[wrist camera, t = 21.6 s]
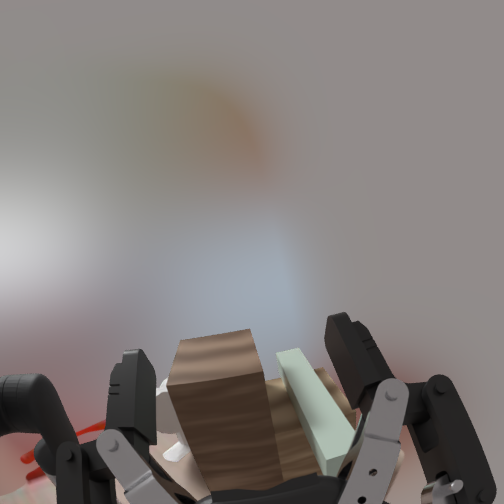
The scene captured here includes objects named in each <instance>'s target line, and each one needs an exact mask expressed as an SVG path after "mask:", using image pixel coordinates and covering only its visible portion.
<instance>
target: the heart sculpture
mask: <svg viewBox="0 0 504 504" xmlns="http://www.w3.org/2000/svg"><path fill="white" fill-rule="evenodd" d="M167 380H168V378H167V379H165V380H164V381H163V382H162V384H161V386H160V387H159V388H156V430H157V431H159V432H161V433H168V434H173V433H176V435H177V438H178V440H179V441H178V442H177V443H176V444H175V445H173V446H172V447H171V448H170V449H168V450H167V451H166V452H165V453H163V456H164V458H165V459H166V460H168V461H173V462H178V461H179V460H180V459H182V458H183V457H184V456H185V455H186V454H187V453H188V452H190V451H191V450H190V447H189V445H188V442H187V440H186V438H185V435H184V433H183V430H182V428H181V425H180V423H179V420H178V418H177V415H176V412H175V410H174V407H173V404H172V402H171V399H170V396H169V393H168V390H167V388H166V384H167Z"/></svg>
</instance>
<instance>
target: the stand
mask: <svg viewBox="0 0 504 504" xmlns="http://www.w3.org/2000/svg"><path fill="white" fill-rule="evenodd" d="M314 371H315V373H316V374H317V376H318V377H319V379H320V380H321V382H322V383H323V385H324V386H325V388H326V389H327V391H328V392H329V394H330V395H331V397H332V398H333V400H334V401H335V403H336V404H337V406H338V407H339V408H340V410H341V411H342V413H343V414H344V416H345V417H346V419H347V420H348V422H349V423H350V425H351V426H352V428H353V429H354V430H355V428H356V411H355V409H354V410H352V409H351V406H350V404H349V401H348V400H347V399H346V397H345V396H344V395H343V393H342V392H341V391H340V389H339V388H338V387H337V386H336V384H335V383H334V381H333V380H332V379H331V378H330V376H329V375H328V373H327V372H326V371H325V369H324V368H323V367H322V368H318V369H314ZM166 388H167V390H168V393H169V396H170V399H171V402H172V404H173V407H174V410H175V412H176V415H177V418H178V420H179V423H180V425H181V428H182V430H183V433H184V435H185V438H186V440H187V442H188V445H189V447H190V450H191V452H192V454H193V456H194V459H195V461H196V463H197V465H198V467H199V469H200V472H201V474H202V476H203V478H204V480H205V482H206V484H207V486H208V488H209V490H210V492H211V491H221V490H230V489H246V490H268V489H270V488H272V487H274V486H277V485H279V484H281V483H283V482H285V481H287V480H289V479H292V478H296V477H300V476H304V475H308V474H312V473H315V472H317V475H323V473H322V471H321V469H320V466H319V464H318V462H317V460H316V457H315V455H314V453H313V451H312V448H311V446H310V444H309V442H308V439H307V437H306V435H305V432H304V430H303V428H302V426H301V423H300V421H299V419H298V416H297V414H296V412H295V409H294V407H293V405H292V402H291V400H290V398H289V395H288V393H287V391H286V388H285V386H284V384H283V381H282V379H281V378H278V379H273V380H268V381H265V379H264V373H263V369H262V366H261V363H260V359H259V356H258V353H257V350H256V347H255V343H254V340H253V337H252V334H251V331H250V329H245V330H240V331H235V332H229V333H223V334H217V335H211V336H205V337H199V338H192V339H185V340H180V343H179V346H178V349H177V352H176V355H175V358H174V361H173V365H172V368H171V371H170V374H169V377H168V380H167V384H166Z"/></svg>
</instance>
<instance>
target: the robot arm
mask: <svg viewBox="0 0 504 504" xmlns="http://www.w3.org/2000/svg"><path fill="white" fill-rule="evenodd" d="M324 339H325V346H326V349H327V352H328V354H329V356H330V359H331V361H332V363H333V366H334V368H335V370H336V373H337V375H338V377H339V380H340V382H341V384H342V387H343V389H344V391H345V394H346V397H347V399H348V401H349V404H350V406H351V409H352V410H354V409H356V408H360V410H361V413H362V414H361V417H360V420H359V423H358V426H357V429H356V431H355V434H354V437H353V440H352V442H351V445H350V448H349V450H348V452H347V454H346V456H345V458H344V460H343V462H342V464H341V467H340V469H339V471H338V474H337V476H336V477H334V476H328V475H317V472H315V473H312V474H308V475H304V476H300V477H296V478H292V479H289V480H287V481H285V482H283V483H281V484H279V485H277V486H274V487H272V488H270V489H268V490H246V489H230V490H221V491H211V495H209V496H207V497H204V498H202V499H201V500H199V501H197V500H196V499H195V498H194V497H193V496H192V495H191V494H190V493H189V492H187V491H186V490H185V489H184V488H183V487H181V486H180V485H179V484H178V483H176V482H175V481H174V480H173V479H172V478H171V477H170V476H169V474H168V473H167V472H166V471H165V470H164V469H163V468H162V467H161V466H160V465H159V463H158V462H157V461H156V460H155V459H154V458H153V457H152V455H151V454H150V453H149V445H157V432H156V375H155V370H154V368H153V366H152V364H151V363H150V361H149V360H148V358H147V357H146V355H145V353H144V352H143V350H141V349H135V350H126V351H124V353H123V360H122V363H117V364H116V365H115V367H114V369H113V371H112V372H111V376H110V387H109V395H108V403H107V415H106V426H105V430H104V431H103V432H102V433H101V434H100V435H99V437H98V438H97V439H96V440H94V441H91V442H87V443H84V444H81V445H80V444H79V442H78V439H77V436H76V433H75V431H74V429H73V427H72V425H71V423H70V421H69V419H68V417H67V414H66V412H65V410H64V407H63V405H62V403H61V400H60V398H59V396H58V393H57V391H56V389H55V388H54V386H53V384H52V383H51V382H50V380H49V379H48V378H47V377H46V376H44V375H42V374H20V375H6V376H3V377H0V437H1V436H3V435H6V434H10V433H15V432H21V433H22V432H23V433H38V434H39V433H40V434H41V435H42V437H43V438H42V439H41V440H40V441H39V442H38V443H37V445H36V446H35V449H34V457H35V460H36V462H37V463H38V465H39V466H40V467H41V469H42V470H43V471H44V473H45V474H46V475H47V477H48V478H49V479H50V480H51V482H52V483H53V484H54V485H55V487H56V495H57V504H121V502H120V501H119V500H118V499H117V498H116V489H115V478H116V479H117V480H118V481H119V483H120V484H121V485H122V487H123V488H124V490H125V492H124V495H125V497H126V499H127V500H128V501H129V503H130V504H389V503H387V502H385V501H383V500H384V497H385V495H386V492H387V489H388V486H389V484H390V481H391V478H392V475H393V472H394V469H395V466H396V462H397V459H398V456H399V452H400V448H401V443H400V442H399V436H400V432H401V428H402V425H407V427H408V430H409V432H410V435H411V437H412V440H413V443H414V446H415V448H416V451H417V454H418V456H419V459H420V462H421V465H422V468H423V471H424V474H425V477H426V480H427V483H428V484H427V485H426V486H425V487H424V489H423V491H422V493H421V504H492V503H493V501H494V499H495V497H496V485H495V482H494V479H493V476H492V473H491V470H490V467H489V464H488V462H487V459H486V456H485V454H484V451H483V449H482V446H481V444H480V441H479V439H478V436H477V434H476V432H475V429H474V427H473V425H472V423H471V420H470V418H469V416H468V413H467V411H466V409H465V407H464V405H463V403H462V401H461V399H460V397H459V395H458V393H457V391H456V389H455V387H454V385H453V383H452V381H451V380H450V379H449V378H448V377H446V376H444V375H434V376H432V377H431V378H430V379H429V380H428V381H427V382H421V383H409V384H408V383H404V382H402V381H401V380H398V379H396V378H395V377H394V375H393V374H392V372H391V370H390V369H389V367H388V365H387V363H386V361H385V359H384V357H383V356H382V354H381V352H380V350H379V348H378V347H377V345H376V343H375V341H374V340H373V338H372V336H371V334H370V332H369V330H368V329H367V328H366V327H365V326H364V325H363V324H361V323H360V322H359V321H356V322H351V320H350V318H349V316H348V315H347V313H345V312H342V313H338V314H335V315H330V316H328V318H327V324H326V331H325V337H324Z"/></svg>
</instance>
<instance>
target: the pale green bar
mask: <svg viewBox="0 0 504 504" xmlns="http://www.w3.org/2000/svg"><path fill="white" fill-rule="evenodd" d="M276 358H277V363H278V370H279V374H280V376H281V379H282V381H283V384H284V386H285V388H286V391H287V393H288V395H289V398H290V400H291V402H292V405H293V407H294V409H295V412H296V414H297V416H298V419H299V421H300V423H301V426H302V428H303V430H304V432H305V435H306V437H307V439H308V442H309V444H310V446H311V448H312V451H313V453H314V455H315V457H316V460H317V462H318V464H319V466H320V469H321V471H322V473H323V475H328V476H334V477H336V476H337V474H338V471H339V469H340V467H341V464H342V462H343V460H344V458H345V456H346V454H347V452H348V450H349V448H350V445H351V442H352V440H353V437H354V434H355V430H354V429H353V428H352V426H351V425H350V423H349V422H348V420H347V419H346V417H345V416H344V414H343V413H342V411H341V410H340V408H339V407H338V406H337V404H336V403H335V401H334V400H333V398H332V397H331V395H330V394H329V392H328V391H327V389H326V388H325V386H324V385H323V383H322V382H321V380H320V379H319V377H318V376H317V374H316V373H315V371H314V370H313V368H312V367H311V365H310V364H309V362H308V361H307V360H306V358H305V357H304V355H303V354H302V352H301V351H300V349H299V348H296V349H292V350H287V351H283V352H278V353H276Z"/></svg>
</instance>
